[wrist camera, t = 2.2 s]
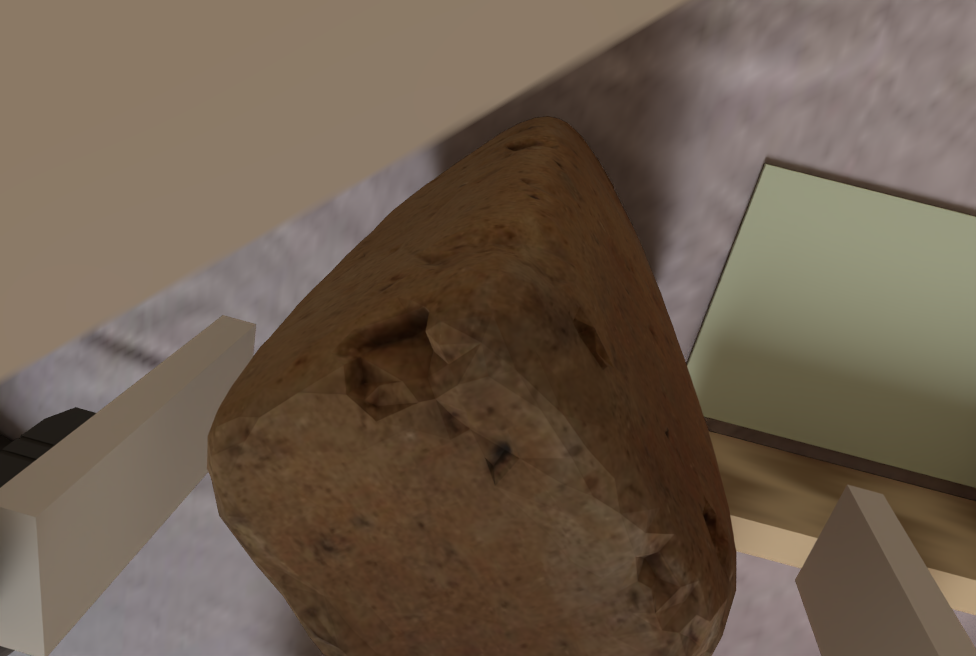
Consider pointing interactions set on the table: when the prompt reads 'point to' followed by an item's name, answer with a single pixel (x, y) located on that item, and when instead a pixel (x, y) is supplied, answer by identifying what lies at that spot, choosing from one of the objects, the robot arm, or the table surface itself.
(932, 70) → the table surface
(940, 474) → the pad
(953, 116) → the table surface
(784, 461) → the wooden l-shaped piece
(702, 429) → the brown sandstone rock
